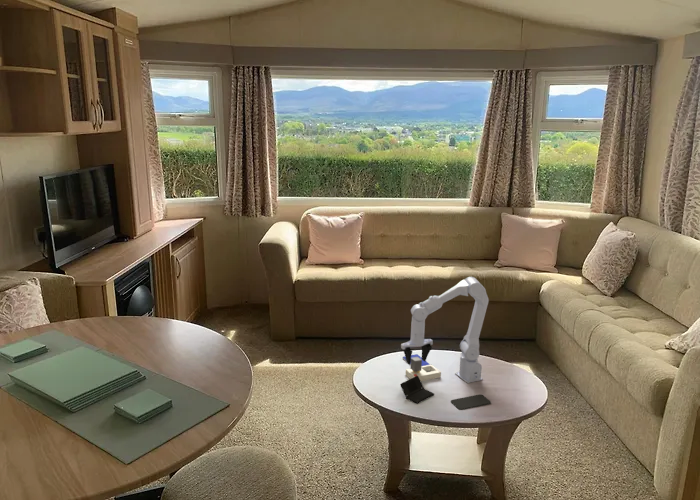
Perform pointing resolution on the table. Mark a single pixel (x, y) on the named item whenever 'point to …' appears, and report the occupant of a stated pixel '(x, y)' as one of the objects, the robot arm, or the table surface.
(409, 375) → the socket plate
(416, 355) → the hard drive
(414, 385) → the handheld gaming console
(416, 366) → the plug
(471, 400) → the phone
